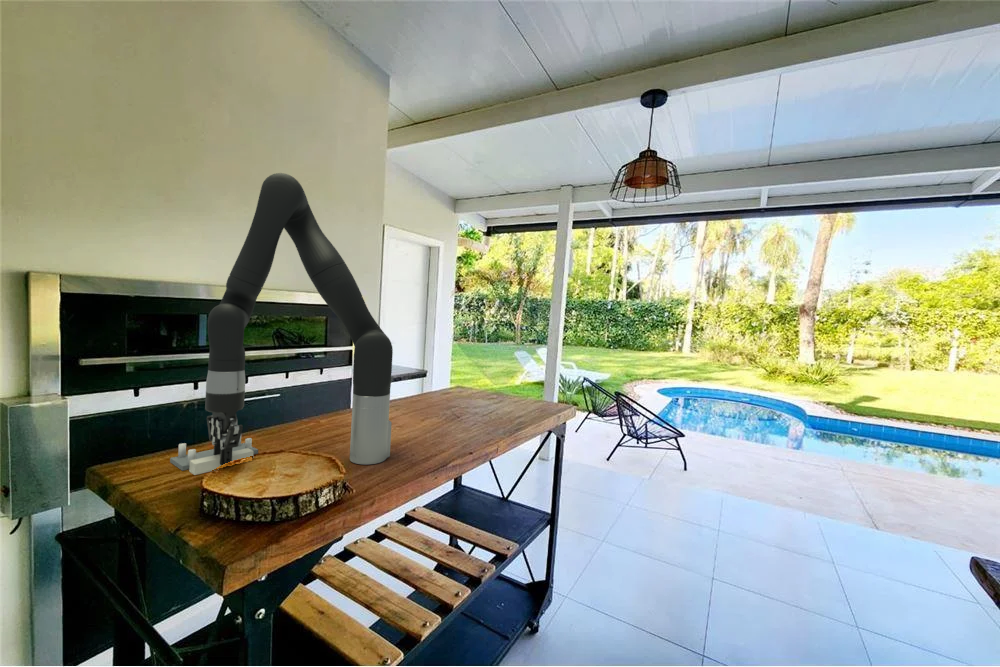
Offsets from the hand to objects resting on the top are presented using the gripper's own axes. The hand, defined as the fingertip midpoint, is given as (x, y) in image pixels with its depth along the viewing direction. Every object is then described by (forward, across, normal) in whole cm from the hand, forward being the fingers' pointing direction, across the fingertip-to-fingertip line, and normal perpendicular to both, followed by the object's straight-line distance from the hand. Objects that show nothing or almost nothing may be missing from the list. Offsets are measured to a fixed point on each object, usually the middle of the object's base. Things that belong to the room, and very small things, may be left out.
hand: (222, 462), depth 94 cm
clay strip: (+1, 0, 0) cm, 1 cm away
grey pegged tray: (+1, +7, -1) cm, 7 cm away
